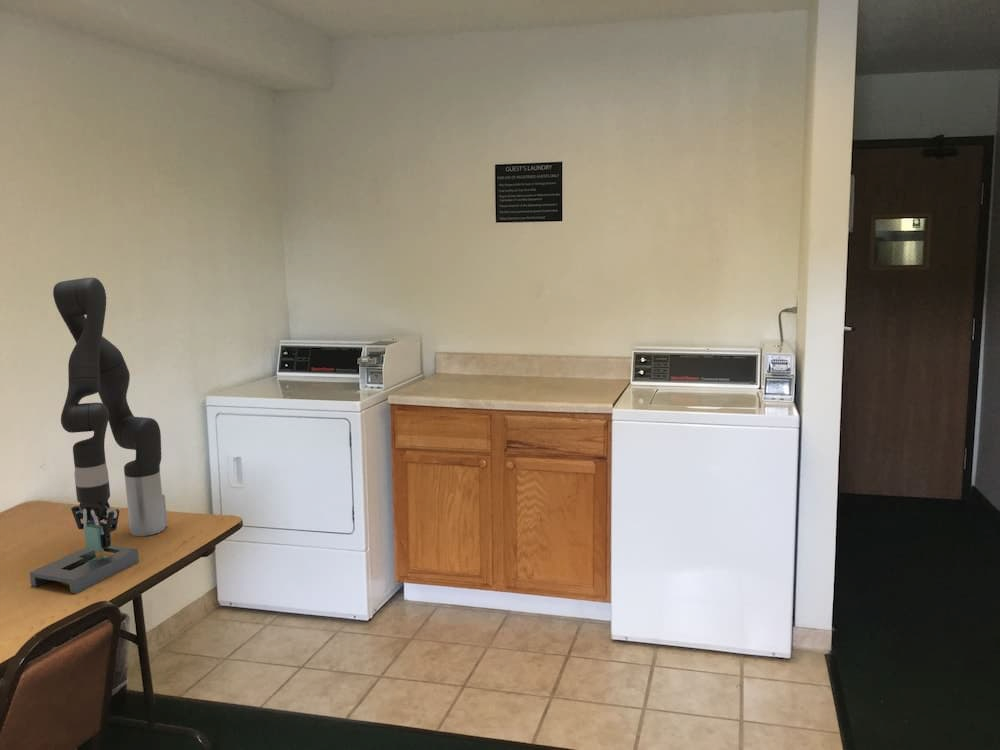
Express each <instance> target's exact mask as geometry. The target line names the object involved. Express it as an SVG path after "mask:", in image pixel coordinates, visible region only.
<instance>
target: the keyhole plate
mask: <svg viewBox="0 0 1000 750" xmlns="http://www.w3.org/2000/svg"><path fill="white" fill-rule="evenodd" d="M104 552H108V553H112V554H110V555H108V556H107V557H106V558H104V559H102V560H100V561H99V560H92V559H94V558H96V557H95V550H89V549H86V546H85V547H83V548H81V549H79V550H77V551H74V552H72V553H70V554H68V555H65V556H63V557H61V558H59V559H56V560H55V561H54V560H53V561H52V562H50V563H48V564H45V565H43V566H41V567H39V568H36V569H34V570H32V571H30V572H29V578H30V586H31V587H34V588H35V587H39V586H40V585H43V584H45V583H47V582H49V581H55V582H61V583H66V584H68V585H69V593H70V594H74V595H76V594H78V593H80V592H82V591H84V590H86V589H88V588H90V587H92V586H95V585H96V584H99V583H100V582H102V581H104V580H106V579H108V578H111V577H112V576H114V575H116V574H118V573H120V572H122V571H124V570H126V569H128V568H130V567H132V566H134V565H136V564H138V563H140V559H139V557H140V556H139V549H138V548H133V547H128V546H127V547H125V546H120V545H113V544H111V546H109V547H107V548H105V549H104ZM90 560H92V561H90ZM88 561H90V562H88ZM85 562H88V563H85Z"/></svg>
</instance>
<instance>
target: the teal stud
mask: <svg viewBox="0 0 1000 750" xmlns="http://www.w3.org/2000/svg"><path fill="white" fill-rule="evenodd" d="M103 527H104V529H106V527H105V524H104V525H103ZM84 530H85V532H84V537H85V539H84V540H85V547H86V549H89V550H95V557H96V558H94V559H92V560H99V561H100V560H102V559H104V558H106V557H108V556H106V555H105V551H104V548H102V547H101V538H100V535H101V534H100V531H99V527H97V526H96V524H95V523H92V524H89V525H88V526H84ZM111 545H112V544H111ZM111 545H110V546H111ZM92 560H90V561H92ZM90 561H88V562H90ZM88 562H85V563H88Z"/></svg>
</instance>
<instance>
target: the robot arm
mask: <svg viewBox="0 0 1000 750" xmlns="http://www.w3.org/2000/svg"><path fill="white" fill-rule="evenodd" d="M105 289H106V288H105V286H104V285H103V283H102V282H101V281H100V280H99V279H98V278H97V277H83V278H77V279H70V280H64V281H59V282H57V283H56V284H55V285H54V286H53V290H52V291H53V294H52V295H53V300H54V304H55V306H56V308H57V311H58V313H59V314H60V316H61V318H62V319H63V322H64V323H65V325H66V327H67V329H68V330H69V332H70V334H71V336H72V337H73V340H74V342H75V343H76V344H75V346H74V347H73V349H72V351H71V353H70V356H69V359H68V366H67V367H68V368H67V371H68V389H67V394H66V399H65V400H64V401H65V402H64V405H63V407H62V410H61V416H60V423H61V427H62V428H63V430H64V431H66V432H67V433H70V434H71V433H72V434H74V433H86V432H87V433H89V432H93V434H92V435H93V436H91V437H89V438H87V439H86V438H85V439H82V440H80V441H77V442H75V443H74V444H73V445H72V455H73V463H74V483H75V484H74V485H75V491H76V493H75V494H76V500H77V503H79V504H77V505H75V506H73V507H71V513H72V516H73V519H74V521H75V523H76V526H77V529H78V530H83V532H84V533H85V530H84V526H88V525H89V524H92V523H95V524H96V526H97V527H99V531H100V534H101V535H100V538H101V547H102V548H104V549H105V548H107V547H109V546H110V545H112V541H111V533H112V532H115V531H116V530H117V528H118V522H119V516H120V510H119V509H117V508H116V509H113V508H111V506H110V504H109V503H110V502H109V499H110V497H111V490H110V489H111V488H110V480H109V472H108V471H109V470H108V467H107V461H106V451H105V438H106V432H107V427H108V423H109V427H110V431H111V433H112V436H113V438H114V440H115V442H116V444H117V446H118V447H120V448H122V449H125V450H133V451H135V460H131V461H129V462H127V463H126V464H125V465H124V466H123V471H124V482H125V483H124V484H125V493H126V501H127V504H126V505H127V512H128V513H127V514H128V522H129V524H128V525H129V533H130V534H131V536H135V537H147V536H152V535H156V533H157V534H159V533H162V532H163V531H165V529H166V528H167V527H168V526H169V525H168V518H167V506H166V496H165V494H163V490H162V480H161V478H162V477H161V467H160V466H161V462H162V435H161V429H160V425H159V423H158V422H157V421H156V420H155V419H154V418H151V417H143V416H141V417H140V416H134V414H133V413H132V410H131V409H130V406H129V404H128V403H129V402H128V399H127V394H128V390H129V385H130V378H131V376H130V375H131V373H130V371H129V368H128V366H127V363H126V361H125V359H124V356H123V354H122V352H121V351H120V349H119V348H118V347H117V346H116V345H114V344H113V343H112V342H111V341H110V340H108V339H107V338H105V337H104V336H103V333H104V332H103V331H104V326H105V320H106V319H105V317H106V311H107V294H106V290H105ZM95 394H98V396H99V398H100V401H101V402H88V403H86V402H85V403H80V401H81V400H82V399H83V398H86V397H89V396H92V395H95ZM81 520H82V521H81ZM104 524H105V527H106V529H104V527H103V525H104ZM166 526H167V527H166ZM161 531H162V532H161Z"/></svg>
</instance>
